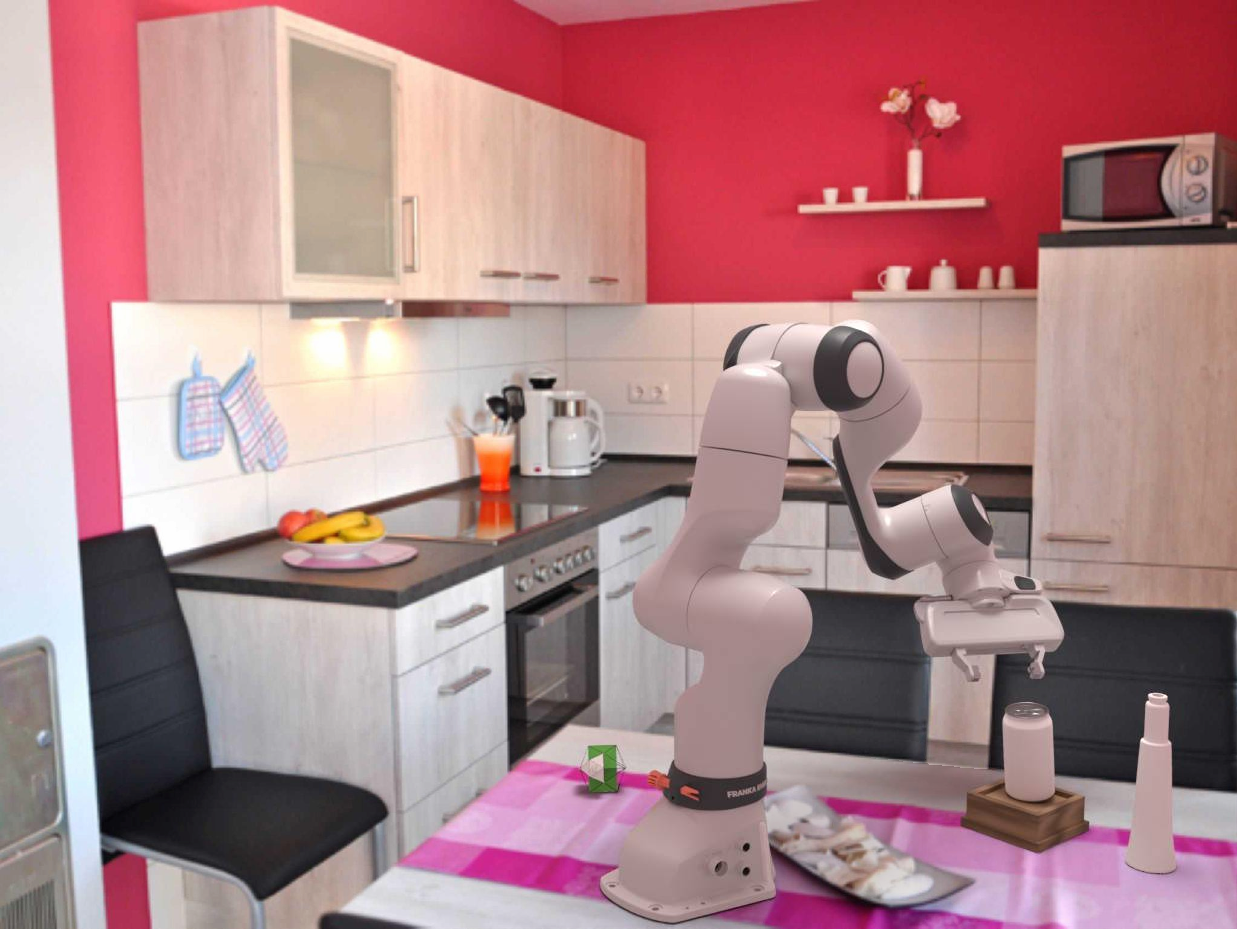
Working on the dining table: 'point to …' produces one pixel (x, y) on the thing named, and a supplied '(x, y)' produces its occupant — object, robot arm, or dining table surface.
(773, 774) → the dining table surface
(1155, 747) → the pink bottle
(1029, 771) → the can
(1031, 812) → the pedestal
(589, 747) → the geometric puzzle
